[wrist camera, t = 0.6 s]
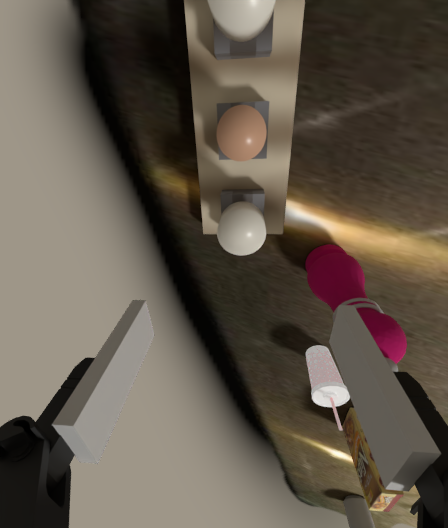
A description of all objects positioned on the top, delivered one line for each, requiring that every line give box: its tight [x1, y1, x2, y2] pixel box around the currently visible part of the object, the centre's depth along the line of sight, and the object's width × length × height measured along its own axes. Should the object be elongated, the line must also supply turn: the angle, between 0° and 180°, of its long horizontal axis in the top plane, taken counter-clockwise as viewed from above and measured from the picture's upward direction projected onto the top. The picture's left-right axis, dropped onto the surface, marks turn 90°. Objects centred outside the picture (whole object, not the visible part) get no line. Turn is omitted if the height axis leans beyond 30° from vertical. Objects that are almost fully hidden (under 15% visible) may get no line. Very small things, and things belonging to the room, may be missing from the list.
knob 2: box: [217, 202, 266, 255], centre depth 27 cm, size 5×5×5 cm
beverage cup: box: [306, 345, 350, 430], centre depth 42 cm, size 6×6×14 cm
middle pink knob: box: [217, 105, 267, 161], centre depth 22 cm, size 4×4×6 cm
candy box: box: [342, 407, 404, 512], centre depth 52 cm, size 9×4×15 cm, turn 2°
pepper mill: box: [305, 245, 407, 372], centre depth 29 cm, size 7×7×20 cm
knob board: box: [184, 0, 305, 234], centre depth 27 cm, size 25×11×6 cm, turn 2°
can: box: [343, 495, 375, 528], centre depth 76 cm, size 8×8×12 cm
